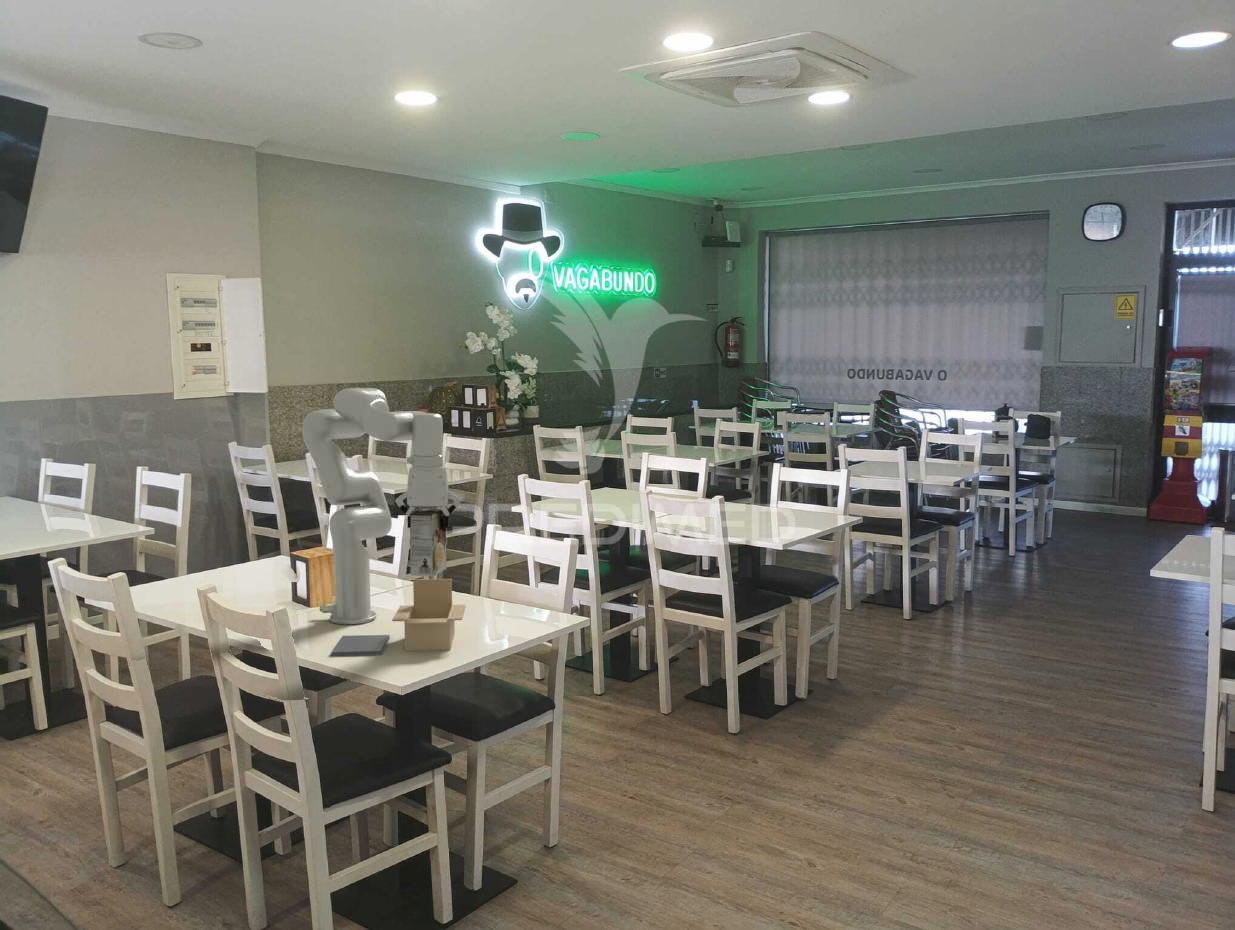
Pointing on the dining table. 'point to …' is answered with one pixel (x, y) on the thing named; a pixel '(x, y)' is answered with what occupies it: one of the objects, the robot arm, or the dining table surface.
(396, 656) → the dining table surface
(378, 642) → the tray
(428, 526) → the coffee box
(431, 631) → the carton
